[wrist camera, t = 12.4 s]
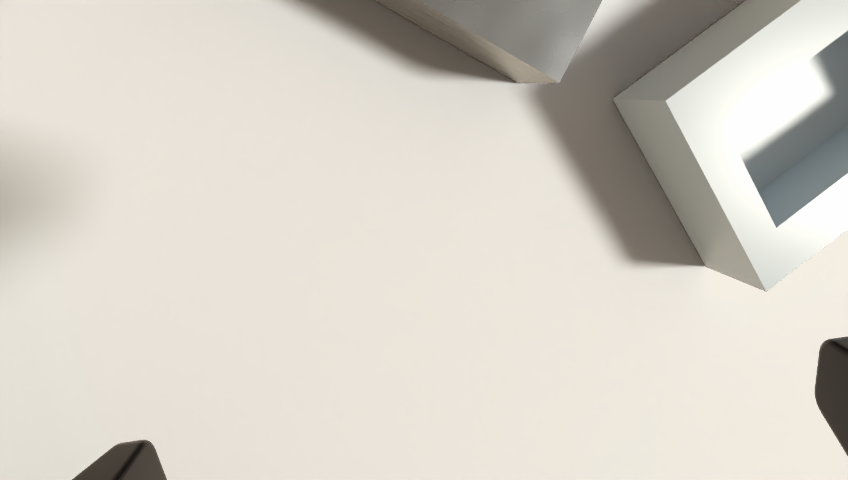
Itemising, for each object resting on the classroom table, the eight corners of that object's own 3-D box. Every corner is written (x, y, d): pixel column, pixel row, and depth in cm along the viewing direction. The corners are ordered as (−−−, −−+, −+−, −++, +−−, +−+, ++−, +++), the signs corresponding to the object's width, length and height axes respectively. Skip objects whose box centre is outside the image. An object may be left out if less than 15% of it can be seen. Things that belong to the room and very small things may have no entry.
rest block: (705, 266, 23) (766, 291, 21) (612, 98, 21) (665, 101, 18) (903, 116, 24) (989, 120, 21) (831, -63, 22) (916, -86, 19)
